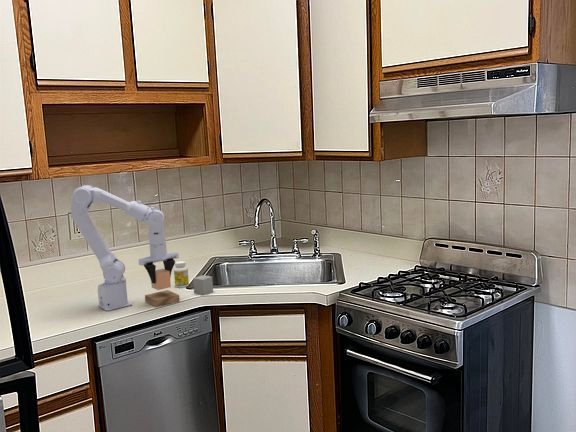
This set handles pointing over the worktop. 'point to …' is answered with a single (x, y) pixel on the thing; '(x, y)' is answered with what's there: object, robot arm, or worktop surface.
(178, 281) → the supplement bottle
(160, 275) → the terracotta block
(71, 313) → the worktop surface
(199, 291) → the slate block
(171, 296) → the walnut slab
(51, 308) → the worktop surface
